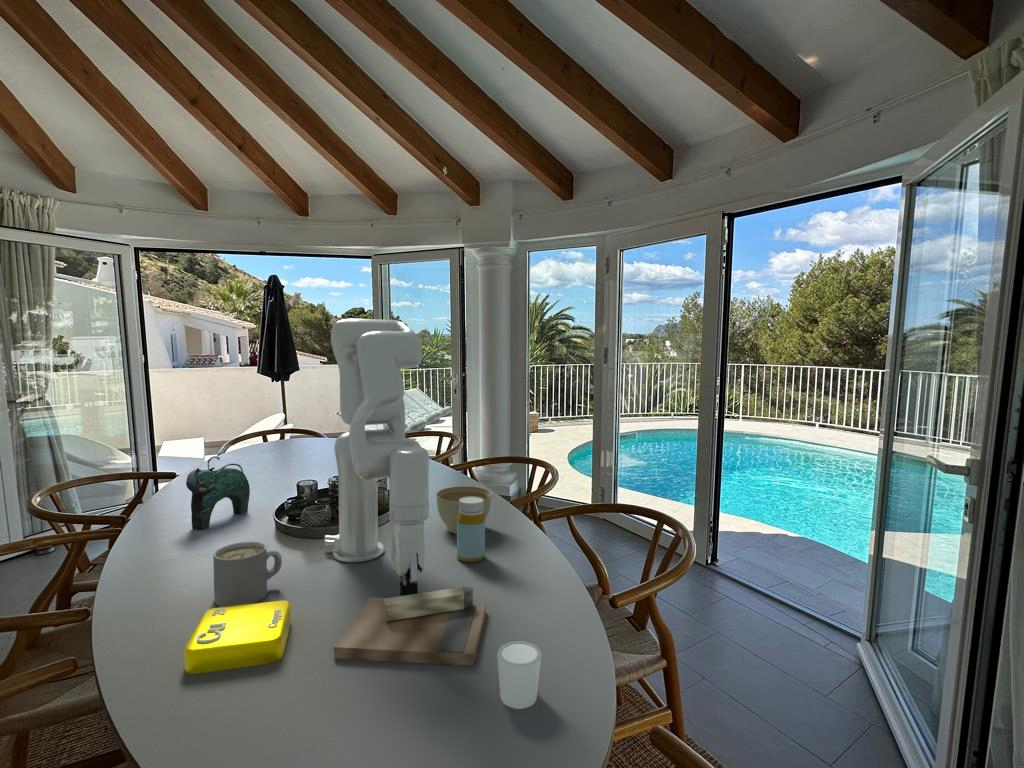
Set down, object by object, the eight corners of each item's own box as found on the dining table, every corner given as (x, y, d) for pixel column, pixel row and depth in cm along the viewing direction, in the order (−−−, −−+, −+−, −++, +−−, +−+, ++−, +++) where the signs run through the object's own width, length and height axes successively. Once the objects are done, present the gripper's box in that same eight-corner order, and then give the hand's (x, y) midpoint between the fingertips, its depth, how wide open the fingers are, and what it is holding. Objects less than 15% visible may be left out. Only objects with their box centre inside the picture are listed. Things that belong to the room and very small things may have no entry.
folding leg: (470, 599, 107) (470, 585, 107) (474, 607, 104) (474, 592, 104) (383, 613, 101) (383, 598, 101) (386, 621, 98) (386, 606, 98)
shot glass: (495, 683, 85) (495, 641, 84) (537, 681, 85) (538, 639, 85) (497, 712, 78) (498, 667, 77) (544, 710, 79) (545, 665, 78)
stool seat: (334, 658, 91) (334, 645, 91) (369, 606, 109) (369, 596, 109) (473, 666, 89) (473, 653, 89) (485, 612, 107) (486, 601, 107)
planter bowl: (425, 534, 150) (425, 497, 149) (452, 518, 165) (452, 483, 164) (476, 543, 144) (476, 504, 143) (499, 525, 159) (500, 489, 158)
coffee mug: (218, 612, 105) (217, 563, 105) (211, 593, 113) (210, 547, 113) (289, 594, 113) (288, 549, 113) (278, 578, 121) (277, 535, 121)
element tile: (281, 664, 90) (281, 636, 89) (181, 678, 86) (180, 649, 85) (292, 619, 104) (292, 596, 104) (206, 630, 100) (206, 605, 100)
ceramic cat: (198, 532, 149) (196, 462, 148) (181, 530, 151) (179, 460, 150) (253, 512, 168) (252, 449, 166) (237, 509, 170) (236, 448, 168)
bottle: (480, 564, 130) (481, 504, 129) (453, 562, 132) (453, 502, 131) (487, 554, 137) (488, 497, 136) (461, 551, 139) (462, 495, 137)
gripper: (383, 501, 109) (383, 587, 110) (396, 525, 95) (396, 623, 96) (419, 498, 112) (419, 582, 113) (437, 520, 98) (436, 616, 99)
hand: (408, 601), depth 105 cm, fingers closed
